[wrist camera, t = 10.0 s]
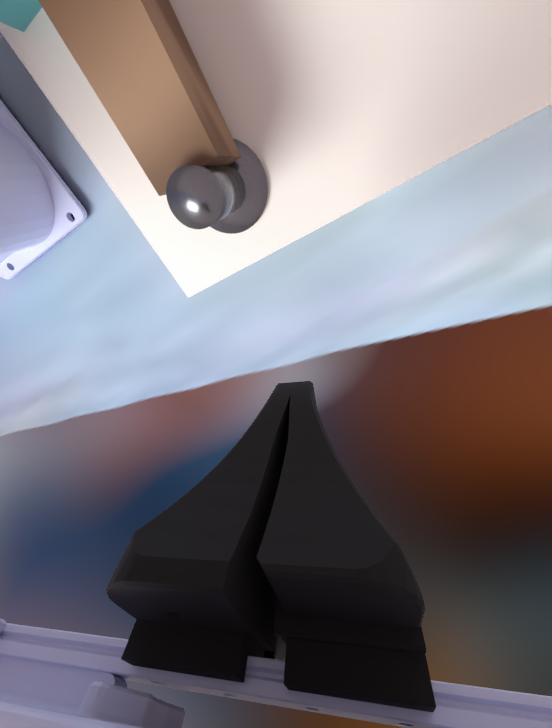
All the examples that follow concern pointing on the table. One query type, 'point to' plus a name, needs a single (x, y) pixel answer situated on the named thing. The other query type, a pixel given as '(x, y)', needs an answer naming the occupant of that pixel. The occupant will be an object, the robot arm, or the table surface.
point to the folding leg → (156, 101)
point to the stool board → (310, 107)
